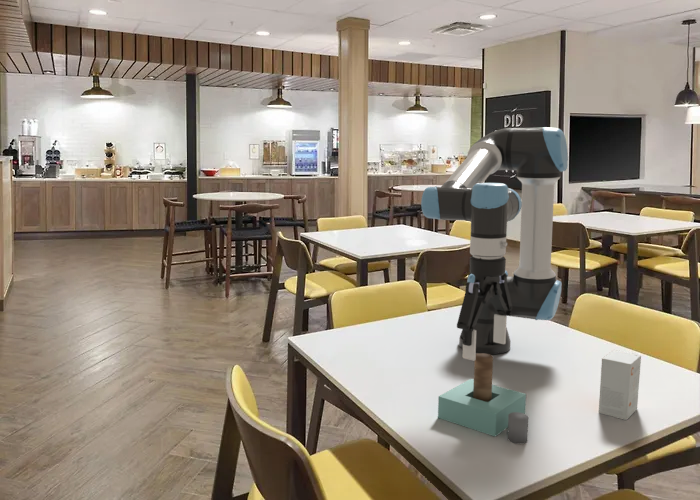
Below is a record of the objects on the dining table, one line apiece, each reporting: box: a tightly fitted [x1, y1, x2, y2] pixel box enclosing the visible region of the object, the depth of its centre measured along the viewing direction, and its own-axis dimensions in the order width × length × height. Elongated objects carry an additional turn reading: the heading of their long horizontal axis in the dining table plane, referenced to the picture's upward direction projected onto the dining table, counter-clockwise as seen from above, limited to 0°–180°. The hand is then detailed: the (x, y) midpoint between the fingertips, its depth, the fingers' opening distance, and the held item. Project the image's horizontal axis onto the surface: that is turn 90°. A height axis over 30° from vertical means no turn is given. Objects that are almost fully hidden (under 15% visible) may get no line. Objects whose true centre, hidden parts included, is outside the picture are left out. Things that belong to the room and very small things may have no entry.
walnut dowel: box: [473, 353, 494, 402], centre depth 138 cm, size 4×4×14 cm
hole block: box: [437, 378, 527, 437], centre depth 139 cm, size 14×14×5 cm
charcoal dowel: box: [507, 412, 530, 445], centre depth 128 cm, size 4×4×5 cm
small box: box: [598, 349, 642, 421], centre depth 141 cm, size 8×6×13 cm
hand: (484, 350), depth 137 cm, fingers open, 13 cm apart
